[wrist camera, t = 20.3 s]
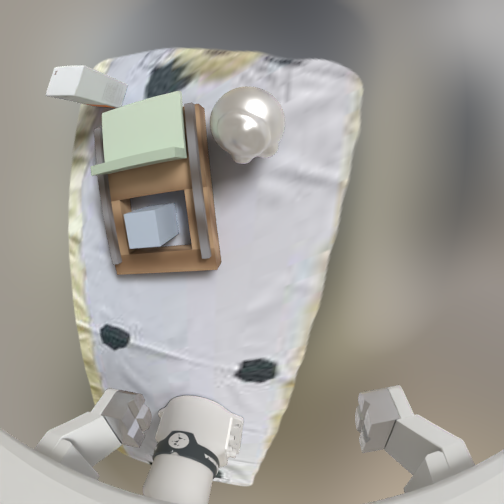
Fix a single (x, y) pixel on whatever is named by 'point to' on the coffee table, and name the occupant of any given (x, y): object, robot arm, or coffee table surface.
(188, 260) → the wooden box frame
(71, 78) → the skincare box
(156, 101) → the lid
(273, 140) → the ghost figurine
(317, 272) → the coffee table surface
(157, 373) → the coffee table surface
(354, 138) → the coffee table surface
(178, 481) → the robot arm
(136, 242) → the block
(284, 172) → the coffee table surface
